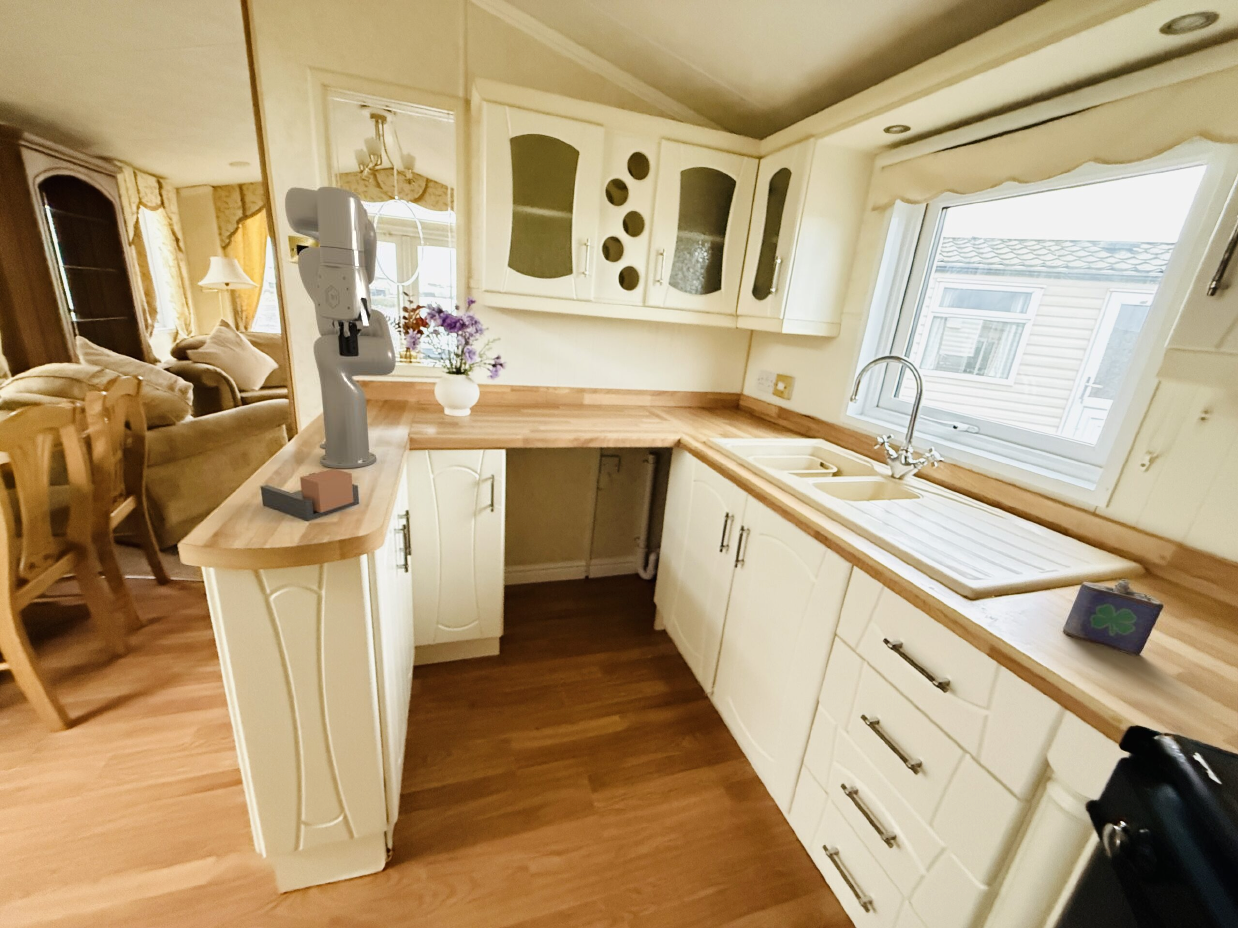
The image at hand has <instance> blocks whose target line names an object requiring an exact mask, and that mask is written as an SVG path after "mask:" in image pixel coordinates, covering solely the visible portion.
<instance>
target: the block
mask: <svg viewBox="0 0 1238 928" xmlns="http://www.w3.org/2000/svg"><path fill="white" fill-rule="evenodd" d="M314 473H315V474H312V473H310V474H311V475H309V474H308V475H304V476H300V477H299V478H300V479H299V480H300V490H301V491H302V496H303V497H306V498H309V499H312V505H313V510H314V511H317V512H320V513H322V512H325V511H328V510H331V509H334V508H337V507H340V506H343V505H346V504H349V503H352V502H354V501H353V486H352V484H353V475H352V473H350V472H347V471H344V470H341V469H340V470H339V469H338V468H331V469H327V470H324V471H319V472H314Z"/></svg>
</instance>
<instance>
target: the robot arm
mask: <svg viewBox="0 0 1238 928" xmlns="http://www.w3.org/2000/svg"><path fill="white" fill-rule="evenodd" d="M361 201H362V200H361V198H360V196H359V195H358V194H357V193H355V192H354V191H353V190H348V189H345V188H341V187H336V186H335V187H334V186H320V187H318V188H317V189H310V188H303V187H297V186H296V187H291V188H289V189H287V192H286V194H285V198H284V208H285V215H286V219H287V223H288V225H289V227H290V228H291V230H292V231H293V232H295V234H296V233H297V234H299V235H302V236H305V237H309V238H312V239H313V240H314V241H315V243H318V244H319V246H311V247H306V248H304V249H302V250H301V251H299V253H298V256H297V265H298V273H299V277H300V279H301V282H302V285H303V287H304V289H305V291H306V293H307V294H308V296H309V297H310V299H311V300H312V303H313V304H314V310H315V318H316V325H317V330H318V333H319V335H320V336H319V337H318V338H316V340H315V341H314V343H313V355H314V360H315V363H316V369H317V372H318V377H319V383H320V390H321V400H322V412H323V413H322V414H323V423H324V424H323V426H324V427H323V428H324V435H325V437H324V439H325V441H324V443H320V444H319V448H320V449H322V450H324V455H322V456H321V457H320V458H319V464H321V466H324V467H327V468H331V469H354V468H361V467H366V466H369V465H372V464H373V463H375V462H376V461H377V456H376V454H374V453H373V452H371V451H370V444H369V443H370V442H369V429H368V428H369V427H368V424H369V423H368V412H367V411H368V410H367V409H368V408H367V407H368V406H367V395H366V393H365V390H364V389H363V387H362V386H361V384H359V383H358V382H357V381H356V380H355V379H354V378H353V377H356V376H388V375H391V374H392V373H393V372H394V370H395V369H396V363H397V361H396V352H395V349H394V344H393V340H392V336H391V332H390V328H389V324H388V320H387V318H386V316H385V314H383V313H382V312H381V311H380V310H379V309H378V310H377V309H375V308H372V299H371V297H372V296H371V290H370V285H372V283H373V282H374V280H375V276H376V260H377V259H376V258H377V248H378V246H377V245H378V240H377V239H378V238H377V231H376V227H375V226H374V223H373V222H372V221H371V220H370V218H369V217H368V211H367V209H366V208H365V207H364V204H363V203H362V202H361Z"/></svg>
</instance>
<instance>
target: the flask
mask: <svg viewBox="0 0 1238 928" xmlns="http://www.w3.org/2000/svg"><path fill="white" fill-rule="evenodd" d="M1116 581H1118V582H1117V584H1114V587H1113V586H1112V587H1111V586H1107V585H1103V584H1099V583H1095V582H1090V581H1083V582H1081V585H1080V587H1079V589H1078V593H1077V595H1076V597H1075V599H1074V602H1073V604H1072V607H1071V609H1070V611H1069V614H1068V617H1067V619H1066V621H1065V624H1064V625H1063V627H1062V630H1063V631H1062V632H1064V635H1067V636H1070V637H1072V638H1074V639H1076V640H1080V641H1085V642H1088V643H1091V644H1093V645H1095V646H1096V645H1097V646H1100V647H1107V648H1110V649H1112V650H1116V651H1119V652H1121V653H1125V654H1128V655H1130V656H1135V657H1137V656H1138V657H1141V655H1140V654H1142V652H1143V650H1144V647H1145V645H1146V644H1147V641H1148V639H1149V637H1151V634H1152V631H1153V628H1154V627H1155V625H1156V623H1157V621H1158V619H1159V617H1160V615H1161V612H1162V610H1163V609H1164V604H1163V603H1162V601H1160V600H1159V599H1157V598H1155V597H1151V596H1150V595H1148V594H1147V593H1143V592H1138V591H1134V590H1133V589H1132V588H1131V587H1130V583H1131V582H1130V581H1129V580H1128V579H1124V578H1121V579H1119V578H1116Z"/></svg>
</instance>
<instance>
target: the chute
mask: <svg viewBox="0 0 1238 928" xmlns="http://www.w3.org/2000/svg"><path fill="white" fill-rule="evenodd" d="M315 473H316V472H312V473H309V474H308V475H311V474H315ZM352 486H353V501H354V502H352V503H349V504H346V505H343V506H340V507H337V508H334V509H331V510H328V511H325V512H322V513H320V512H317V511H314V510H313V505H312V499H309V498H306V497H303V496H302V491H301V489H300V490H297V491H292V492H290V491H287V490H284V489H281V488H278V487H274V486H271V485H269V484H265V485H262V486H260V491H261V500H262V506H263V507H266V508H269V509H272V510H274V511H277V512H280V513H283V514H285V515H288V516H292V517H294V518H297V519H299V520H303V521H307V522H311V521H313V520H316V519H318V518H322V517H325V516H327V515H330V514H333V513H336V512H339V511H342V510H345V509H347V508H351V507H353V506H357V505H359V504H360V497H359V485H358V484H354V483H352Z"/></svg>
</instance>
